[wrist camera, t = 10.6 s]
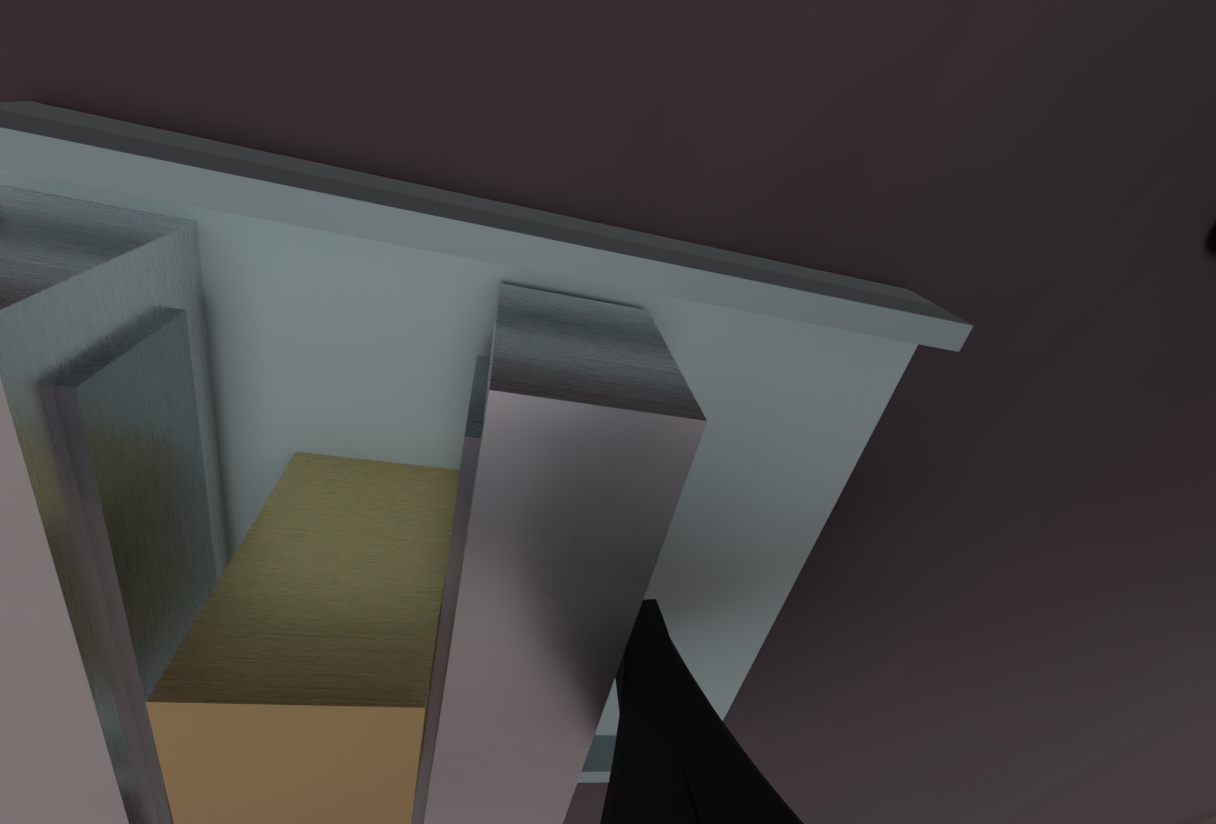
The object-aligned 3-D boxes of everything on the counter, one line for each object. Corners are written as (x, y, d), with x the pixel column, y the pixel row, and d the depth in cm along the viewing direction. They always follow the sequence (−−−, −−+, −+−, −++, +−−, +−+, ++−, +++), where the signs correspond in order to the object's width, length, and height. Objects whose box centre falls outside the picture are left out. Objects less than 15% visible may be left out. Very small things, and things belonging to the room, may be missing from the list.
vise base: (907, 289, 12) (973, 325, 10) (700, 715, 18) (718, 781, 17) (30, 100, 8) (-95, 108, 7) (156, 703, 15) (109, 784, 13)
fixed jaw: (211, 224, 9) (8, 320, 5) (254, 718, 14) (169, 922, 11) (-6, 183, 8) (-394, 264, 5) (127, 716, 14) (-5, 931, 10)
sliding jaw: (647, 309, 10) (707, 421, 7) (531, 733, 16) (533, 904, 12) (487, 280, 9) (469, 386, 6) (425, 732, 15) (399, 910, 12)
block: (461, 469, 11) (425, 707, 7) (443, 612, 13) (404, 869, 9) (295, 452, 11) (145, 702, 6) (300, 604, 13) (185, 878, 8)
